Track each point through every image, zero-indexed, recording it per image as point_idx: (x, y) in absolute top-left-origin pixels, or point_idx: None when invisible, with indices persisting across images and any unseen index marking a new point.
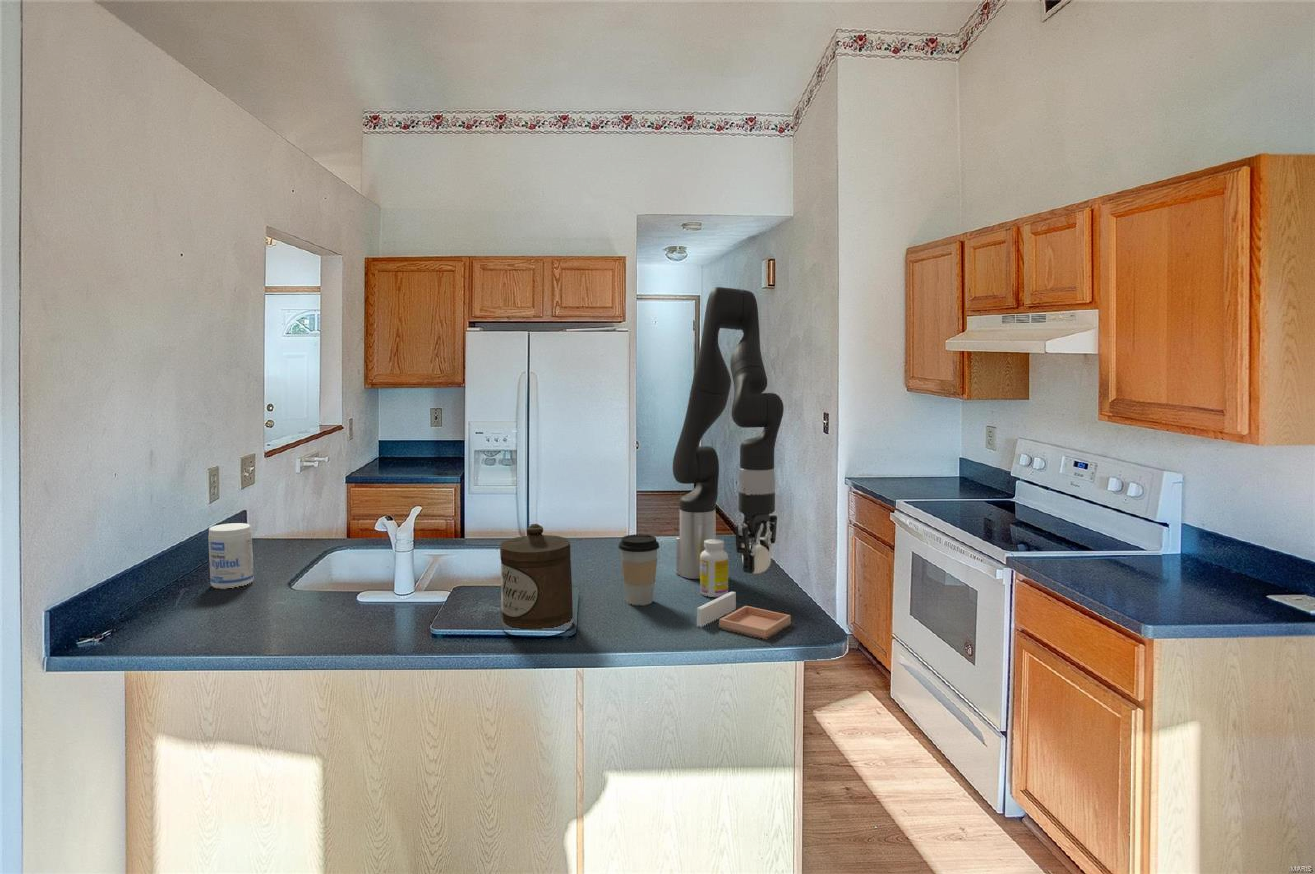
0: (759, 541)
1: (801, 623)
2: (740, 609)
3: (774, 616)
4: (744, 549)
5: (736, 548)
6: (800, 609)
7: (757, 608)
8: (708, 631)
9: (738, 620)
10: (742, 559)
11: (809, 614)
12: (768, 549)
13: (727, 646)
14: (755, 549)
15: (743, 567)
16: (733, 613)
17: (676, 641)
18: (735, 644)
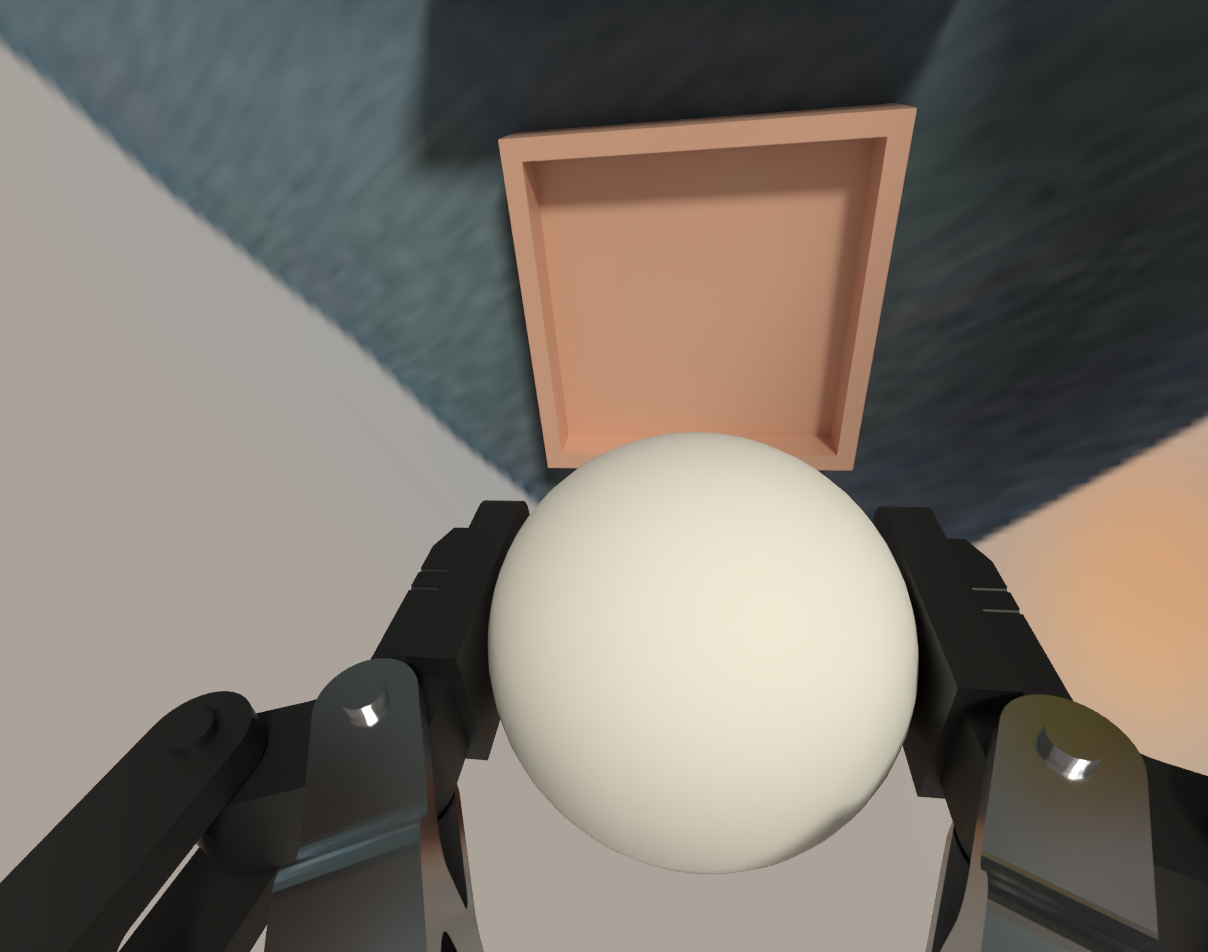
0: (975, 840)
1: (890, 474)
2: (797, 133)
3: (845, 367)
4: (204, 848)
5: (113, 768)
6: (1176, 370)
7: (887, 235)
8: (430, 99)
9: (686, 182)
10: (535, 518)
11: (1079, 450)
12: (938, 791)
13: (356, 339)
14: (561, 812)
15: (429, 554)
16: (676, 147)
17: (150, 39)
18: (406, 356)
